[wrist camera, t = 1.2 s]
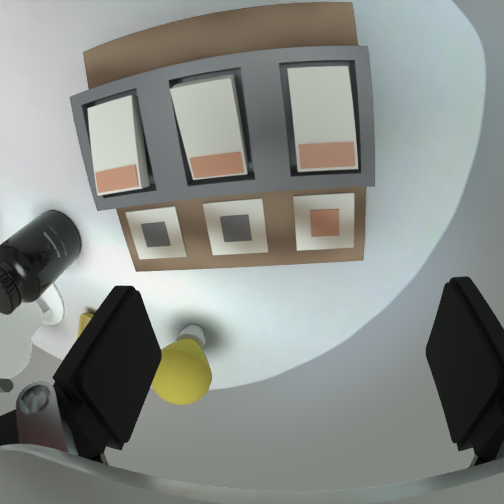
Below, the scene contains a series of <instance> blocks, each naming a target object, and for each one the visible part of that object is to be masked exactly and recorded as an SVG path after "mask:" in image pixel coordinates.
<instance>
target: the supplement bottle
mask: <svg viewBox="0 0 504 504" xmlns="http://www.w3.org/2000/svg"><path fill="white" fill-rule="evenodd" d="M79 250H80V240H79V236H78V233H77V231H76V229H75V227H74V225H73V224H72V222H71V221H70V220H69V219H68V218H67V217H65V216H64V215H63V214H61V213H58V212H55V211H48V212H45V213H43V214H41V215H40V216H38V217H37V218H35V219H34V220H33V221H31V222H30V223H29V224H27V225H26V226H24V227H23V228H22V229H20V230H19V231H18V232H16V233H15V234H14V235H12V236H11V237H10V238H9V239H7V240H6V241H5V242H3V243H2V244H1V245H0V313H2V314H5V315H9V314H11V313H12V312H13V311H14V310H15V309H16V308H17V307H19V306H20V305H21V303H22V302H23V303H31V302H34V301H36V300H37V299H38V298H39V297H40V296H41V295H42V294H43V293H44V292H45V291H46V290H47V289H48V288H49V287H50V286H51V285H52V283H53V282H54V281H55V280H56V279H57V278H58V277H59V276H60V275H61V274H62V273H63V272H64V271H65V270H66V269H67V268H68V267H69V266H70V265H71V264H72V263H73V261H74V260H75V259H76V258H77V256H78V254H79Z"/></svg>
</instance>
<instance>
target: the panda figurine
mask: <svg viewBox="0 0 504 504" xmlns="http://www.w3.org/2000/svg"><path fill="white" fill-rule="evenodd" d="M63 316H64V303H63V299H62V297H61V294H60V292H59V290H58V289H57V287H56V285H55V284H54V283H52V285H51V286H50V287H49V288H48V289H47V290H46V291H45V292H44V293H43V294H42V295H41V296H40V297H39V298H38V299H37V300H36V301H34V302H31V303H23V302H22V303H21V305H20V306H19V307H17V308H16V309H15V310H14V311H13V312H12V313H11V314H9V315H5V314H2V313H0V392H10V391H11V390H12V389H13V383H12V381H11V380H9V378H12V377H14V376H16V375H17V374H19V373H20V372H21V371H22V370H23V369H24V368H25V367H26V366H27V364H28V363H29V360H30V357H31V352H32V341H31V337H32V336H33V334H34V333H35V332H36V330H37V329H38V328H39V326H40V325H41V324H42V323H43V324H47V325H55V324H57V323H59V322H60V321H61V320H62V318H63Z"/></svg>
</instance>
